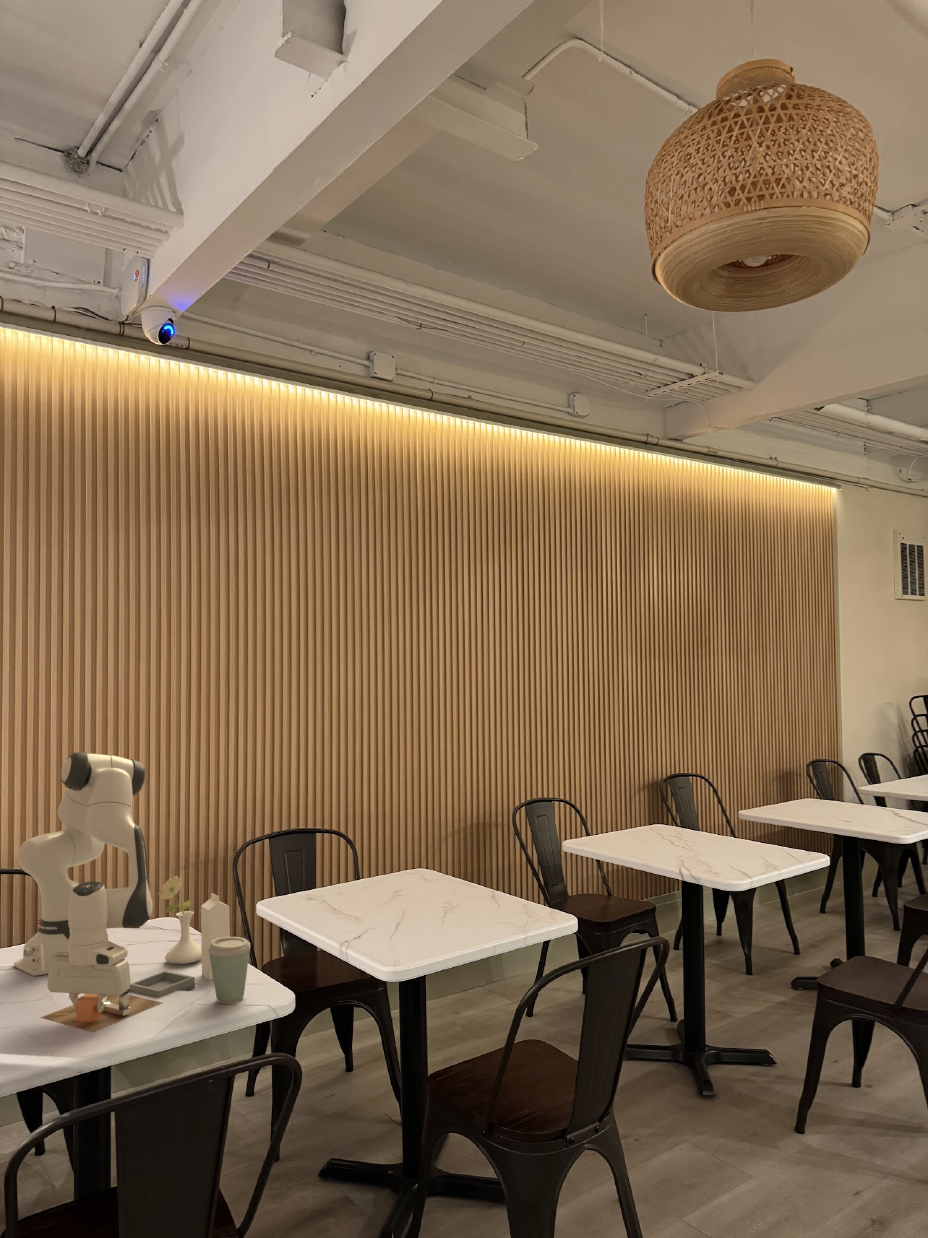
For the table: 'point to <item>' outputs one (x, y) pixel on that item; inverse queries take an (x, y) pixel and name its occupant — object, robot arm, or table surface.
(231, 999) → the disposable coffee cup
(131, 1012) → the plate
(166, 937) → the table surface
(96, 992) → the robot arm
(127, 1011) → the crank
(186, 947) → the flower in vase
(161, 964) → the table surface
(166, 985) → the tray
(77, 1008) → the orange block
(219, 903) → the milk
